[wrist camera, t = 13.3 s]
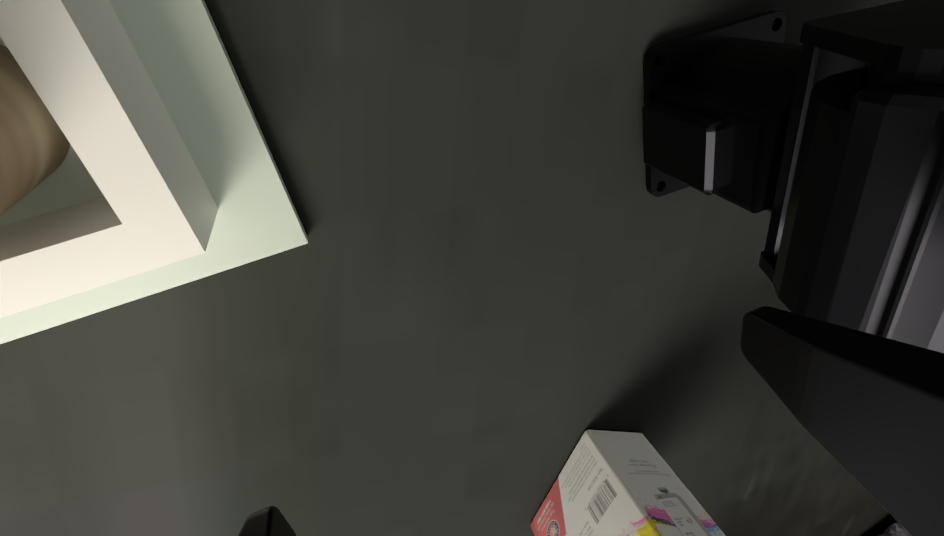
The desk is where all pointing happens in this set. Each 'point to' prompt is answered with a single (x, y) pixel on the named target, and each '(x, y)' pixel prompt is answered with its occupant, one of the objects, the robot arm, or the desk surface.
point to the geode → (895, 531)
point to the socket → (134, 161)
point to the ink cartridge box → (620, 493)
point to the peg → (24, 135)
